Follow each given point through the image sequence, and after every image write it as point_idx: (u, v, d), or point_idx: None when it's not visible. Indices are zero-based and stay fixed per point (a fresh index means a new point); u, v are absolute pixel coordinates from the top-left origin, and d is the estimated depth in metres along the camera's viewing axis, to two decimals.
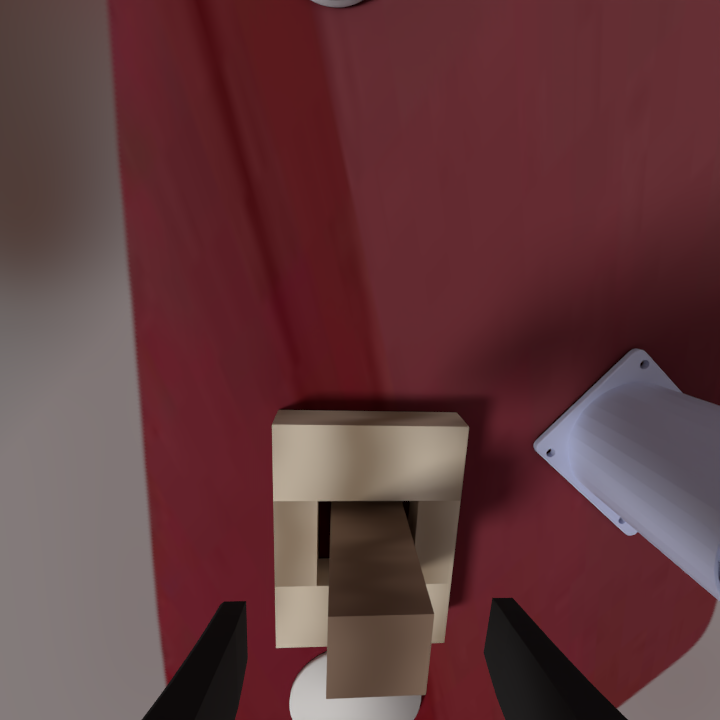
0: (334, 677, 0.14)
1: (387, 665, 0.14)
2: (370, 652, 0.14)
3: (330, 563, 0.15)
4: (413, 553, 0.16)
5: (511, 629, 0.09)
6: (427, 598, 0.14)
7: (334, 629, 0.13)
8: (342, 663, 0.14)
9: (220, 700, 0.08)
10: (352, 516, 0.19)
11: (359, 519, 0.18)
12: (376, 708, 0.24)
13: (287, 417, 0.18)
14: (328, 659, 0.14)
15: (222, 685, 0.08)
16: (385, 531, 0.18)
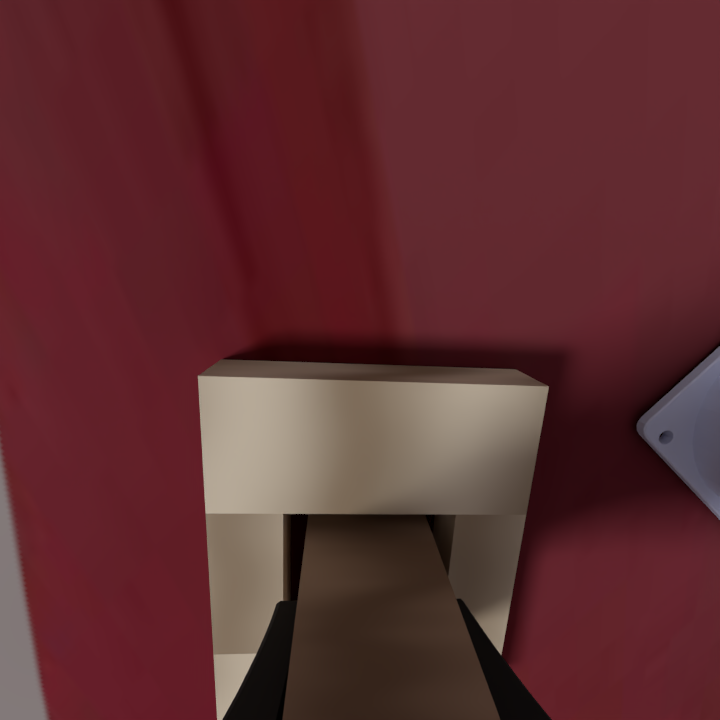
0: None
1: None
2: None
3: (293, 647, 0.08)
4: (457, 620, 0.08)
5: None
6: None
7: None
8: None
9: None
10: (343, 542, 0.11)
11: (353, 547, 0.11)
12: None
13: (232, 367, 0.11)
14: None
15: None
16: (401, 572, 0.10)
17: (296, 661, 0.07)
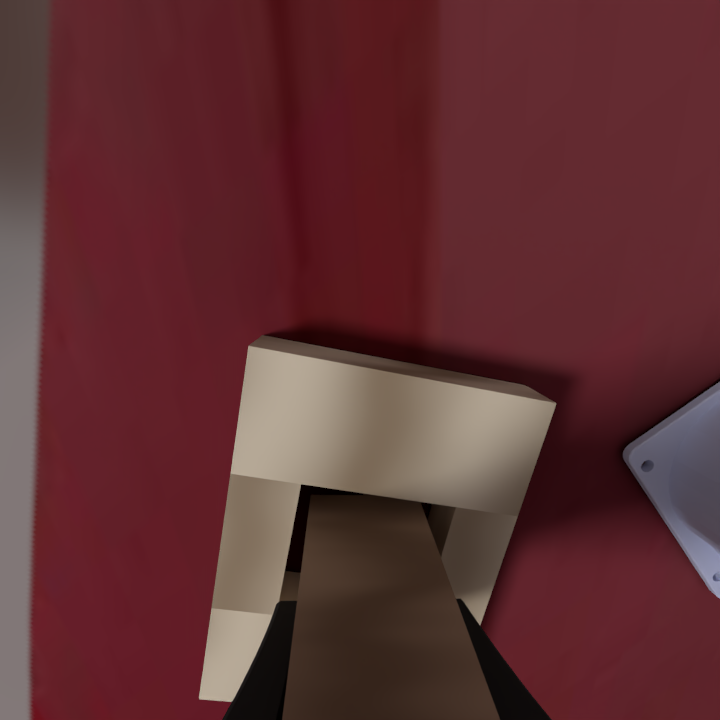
0: None
1: None
2: None
3: (293, 647, 0.08)
4: (457, 621, 0.08)
5: None
6: None
7: None
8: None
9: None
10: (343, 542, 0.11)
11: (353, 547, 0.11)
12: None
13: (275, 344, 0.12)
14: None
15: None
16: (401, 572, 0.10)
17: (296, 661, 0.07)
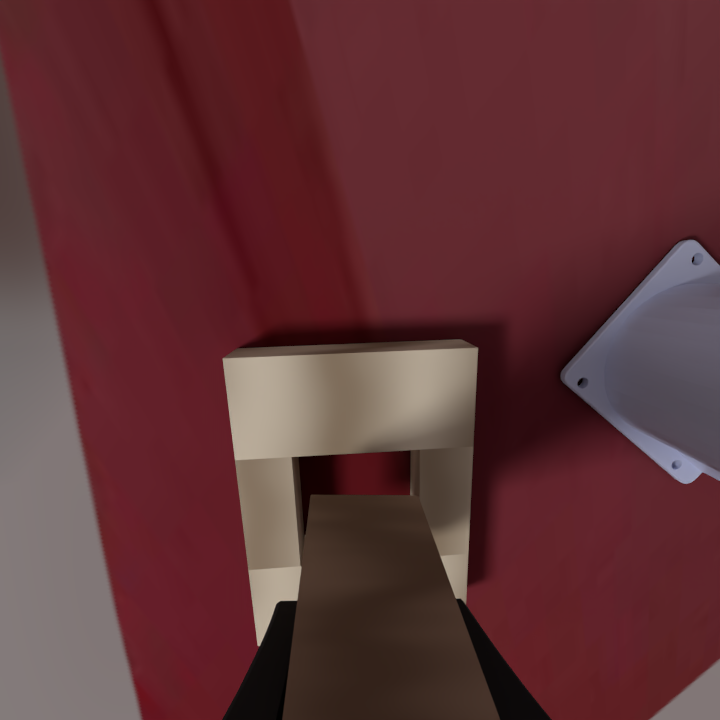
0: None
1: None
2: None
3: (293, 646, 0.08)
4: (457, 620, 0.08)
5: None
6: None
7: None
8: None
9: None
10: (343, 542, 0.11)
11: (353, 547, 0.11)
12: None
13: (245, 352, 0.15)
14: None
15: None
16: (401, 572, 0.10)
17: (296, 661, 0.07)
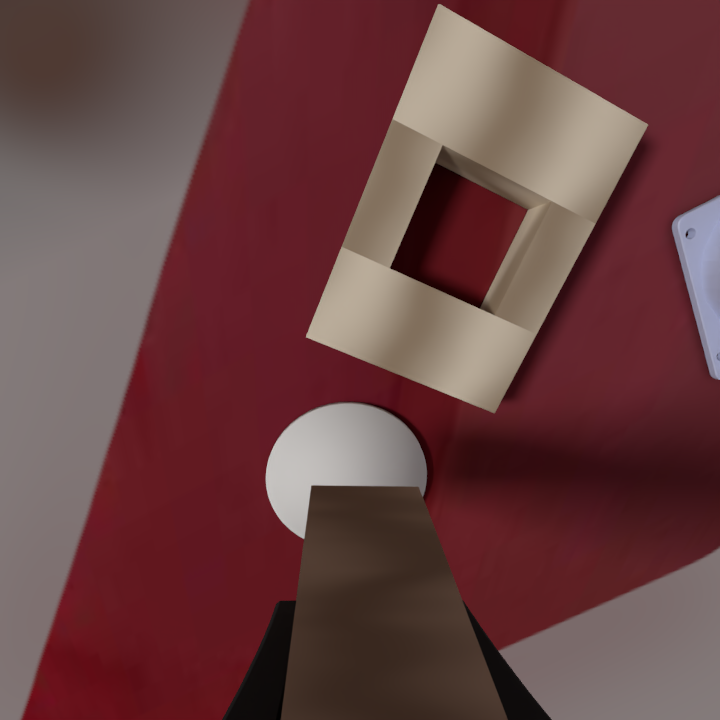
0: None
1: None
2: None
3: (294, 630, 0.08)
4: (457, 606, 0.08)
5: None
6: None
7: None
8: None
9: None
10: (344, 530, 0.11)
11: (354, 536, 0.11)
12: None
13: None
14: None
15: None
16: (402, 560, 0.10)
17: (297, 644, 0.07)
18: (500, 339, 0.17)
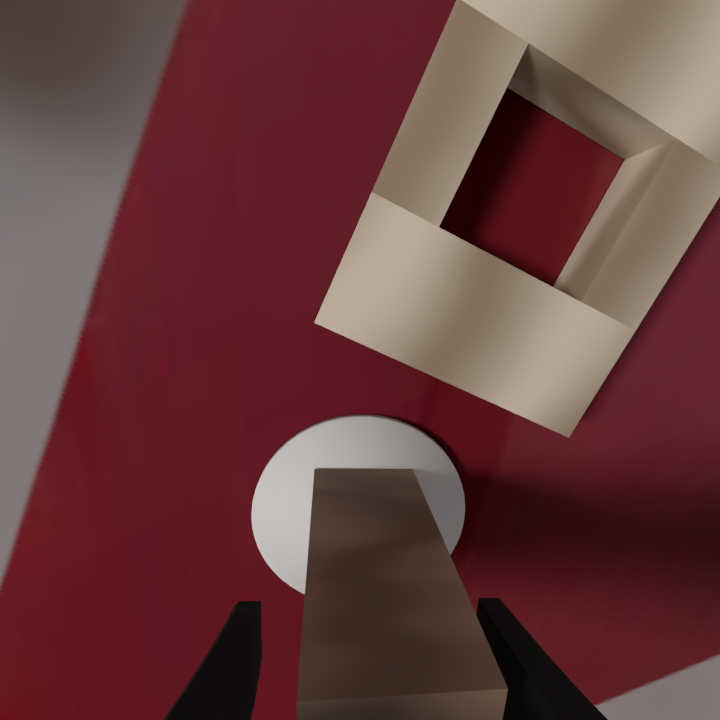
0: None
1: None
2: None
3: (307, 584, 0.09)
4: (448, 564, 0.10)
5: (496, 629, 0.09)
6: (488, 652, 0.07)
7: None
8: None
9: (238, 700, 0.08)
10: (346, 506, 0.12)
11: (356, 510, 0.12)
12: None
13: None
14: None
15: (240, 684, 0.08)
16: (398, 528, 0.11)
17: (310, 595, 0.09)
18: (586, 336, 0.12)
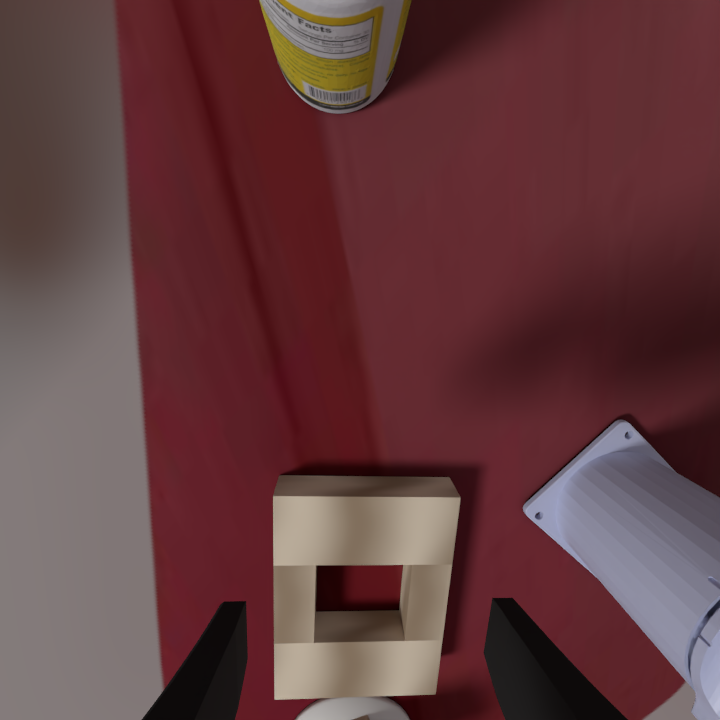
0: None
1: None
2: None
3: None
4: None
5: (511, 629, 0.09)
6: None
7: None
8: None
9: (220, 700, 0.08)
10: None
11: None
12: None
13: (287, 485, 0.19)
14: None
15: (222, 685, 0.08)
16: None
17: None
18: (417, 652, 0.21)
